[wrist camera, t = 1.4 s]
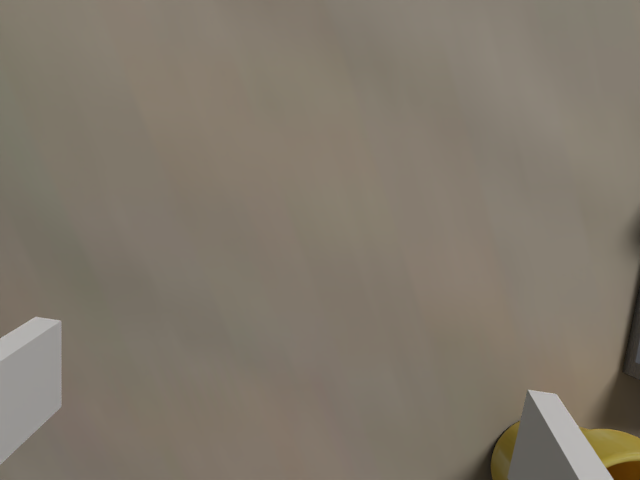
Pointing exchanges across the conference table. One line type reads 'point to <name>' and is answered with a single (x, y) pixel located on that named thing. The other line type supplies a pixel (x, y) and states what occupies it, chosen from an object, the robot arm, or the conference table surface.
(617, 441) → the plant pot
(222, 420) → the conference table surface
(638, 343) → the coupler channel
